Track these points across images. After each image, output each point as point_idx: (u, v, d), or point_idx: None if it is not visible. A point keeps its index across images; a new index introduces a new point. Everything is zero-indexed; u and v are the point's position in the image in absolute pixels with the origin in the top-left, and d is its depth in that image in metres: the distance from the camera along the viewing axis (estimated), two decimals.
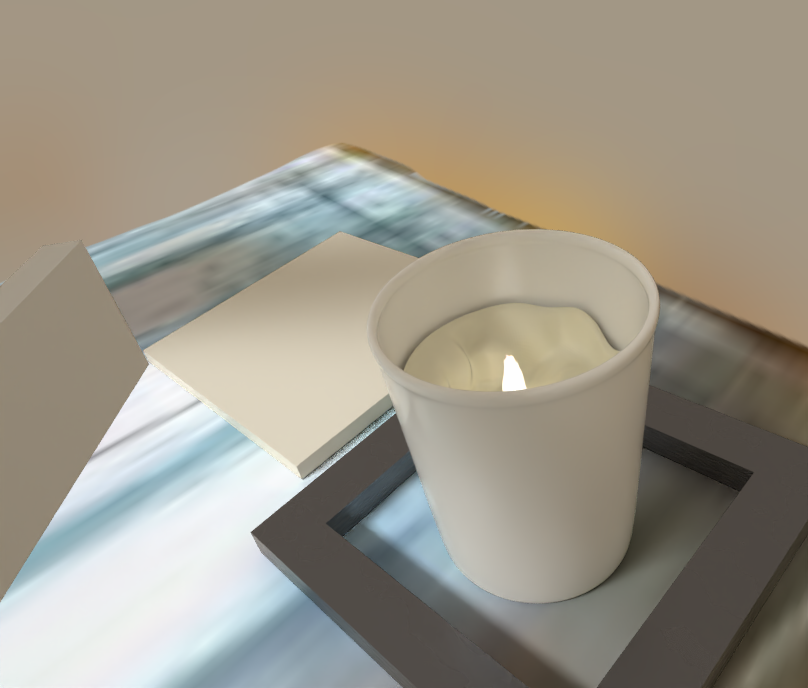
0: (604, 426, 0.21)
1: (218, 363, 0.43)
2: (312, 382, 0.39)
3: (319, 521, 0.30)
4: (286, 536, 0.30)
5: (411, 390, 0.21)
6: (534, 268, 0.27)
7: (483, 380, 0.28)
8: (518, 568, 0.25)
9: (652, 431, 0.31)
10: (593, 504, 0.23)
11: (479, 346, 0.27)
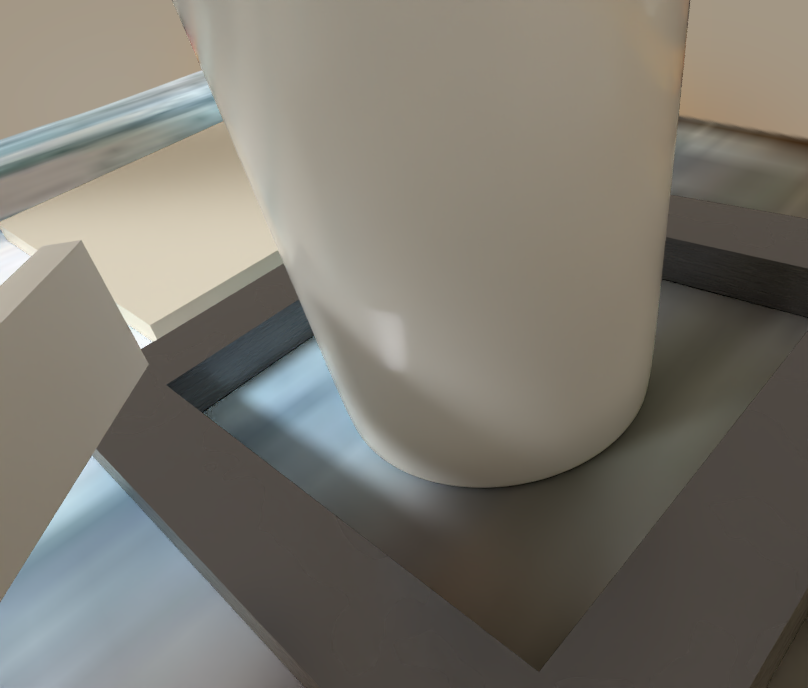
0: (602, 43, 0.10)
1: (84, 227, 0.32)
2: (198, 235, 0.28)
3: (157, 383, 0.19)
4: None
5: None
6: None
7: None
8: (451, 411, 0.14)
9: (677, 246, 0.20)
10: (582, 261, 0.12)
11: None
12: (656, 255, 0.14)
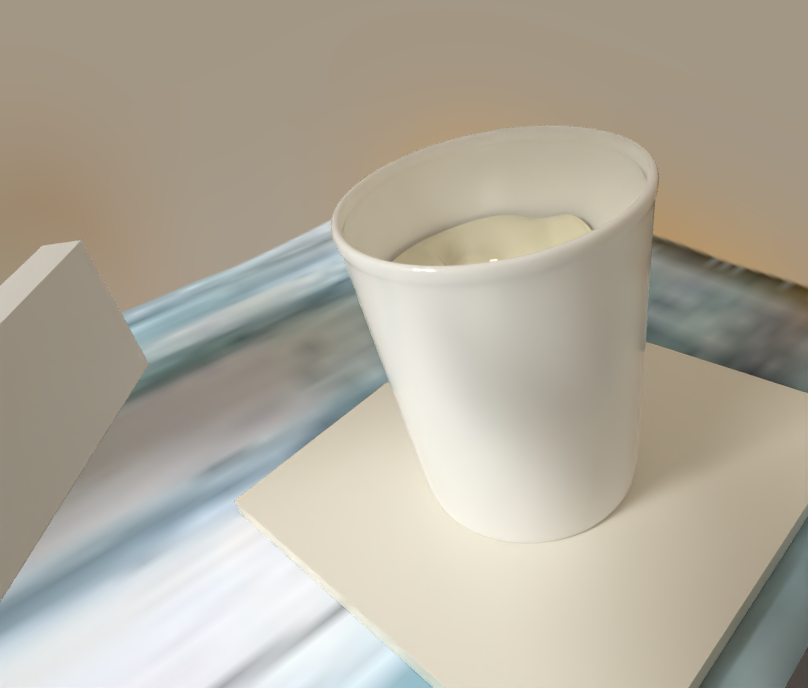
0: (596, 314, 0.18)
1: (368, 536, 0.26)
2: (557, 593, 0.22)
3: None
4: None
5: (374, 273, 0.18)
6: (522, 174, 0.25)
7: None
8: (506, 498, 0.22)
9: None
10: (588, 416, 0.20)
11: (463, 260, 0.25)
12: (635, 401, 0.22)
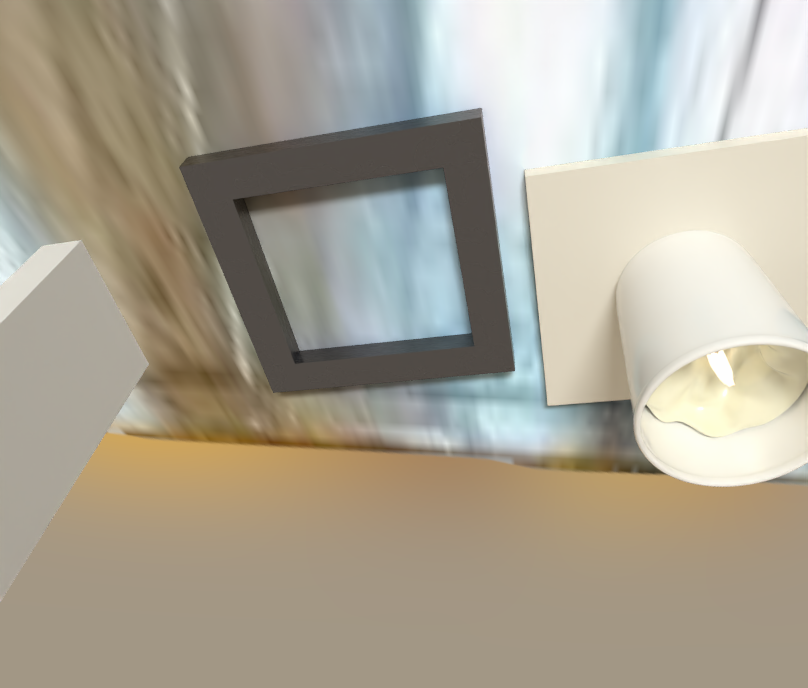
0: (633, 375, 0.35)
1: (738, 184, 0.38)
2: (609, 237, 0.41)
3: (448, 164, 0.38)
4: (454, 138, 0.37)
5: (744, 336, 0.30)
6: (765, 451, 0.36)
7: (755, 359, 0.37)
8: (655, 264, 0.38)
9: (356, 356, 0.48)
10: (628, 329, 0.38)
11: (769, 380, 0.36)
12: None
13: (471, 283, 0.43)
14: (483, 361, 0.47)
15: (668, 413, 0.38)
